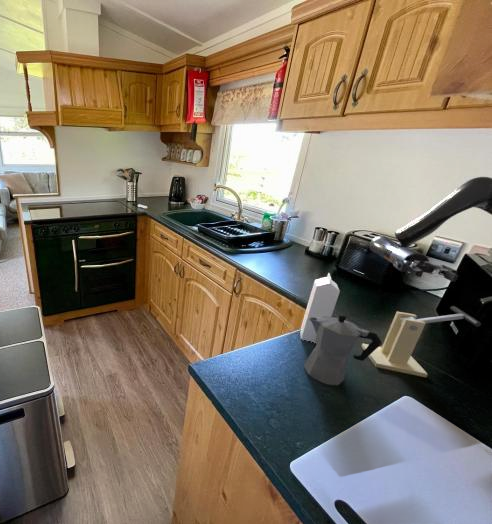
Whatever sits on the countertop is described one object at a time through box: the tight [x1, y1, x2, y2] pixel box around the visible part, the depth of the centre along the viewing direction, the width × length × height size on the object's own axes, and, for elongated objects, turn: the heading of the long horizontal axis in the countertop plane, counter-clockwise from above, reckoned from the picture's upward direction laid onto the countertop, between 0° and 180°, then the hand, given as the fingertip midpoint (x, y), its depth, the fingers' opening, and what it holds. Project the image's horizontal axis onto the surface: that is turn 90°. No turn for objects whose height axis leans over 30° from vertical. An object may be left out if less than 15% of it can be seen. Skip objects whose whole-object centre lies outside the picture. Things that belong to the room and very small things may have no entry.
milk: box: [299, 272, 341, 344], centre depth 90 cm, size 6×6×22 cm
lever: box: [400, 305, 482, 327], centre depth 78 cm, size 14×9×2 cm, turn 74°
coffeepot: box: [303, 313, 382, 386], centre depth 74 cm, size 15×9×18 cm, turn 58°
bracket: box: [361, 311, 429, 378], centre depth 82 cm, size 12×10×15 cm
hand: (438, 276), depth 87 cm, fingers open, 8 cm apart
